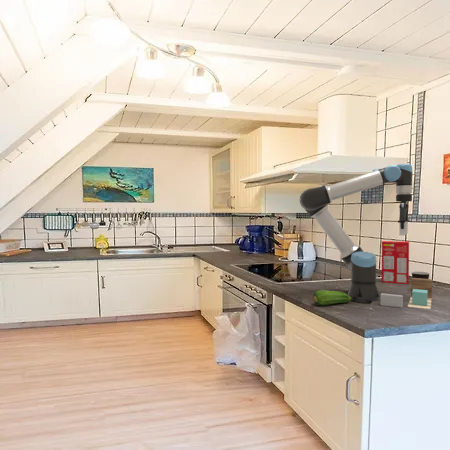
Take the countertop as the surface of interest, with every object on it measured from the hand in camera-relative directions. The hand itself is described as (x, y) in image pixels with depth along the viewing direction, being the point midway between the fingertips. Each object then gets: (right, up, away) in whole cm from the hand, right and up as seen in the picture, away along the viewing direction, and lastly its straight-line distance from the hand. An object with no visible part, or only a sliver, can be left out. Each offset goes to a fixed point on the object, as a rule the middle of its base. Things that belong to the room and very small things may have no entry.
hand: (403, 234), depth 189 cm
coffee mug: (+12, -31, +7) cm, 34 cm away
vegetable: (-42, -33, -15) cm, 56 cm away
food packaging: (+10, -30, +31) cm, 44 cm away
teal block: (-3, -32, -21) cm, 38 cm away
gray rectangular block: (-22, -34, -31) cm, 50 cm away
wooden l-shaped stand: (-1, -33, -18) cm, 37 cm away
